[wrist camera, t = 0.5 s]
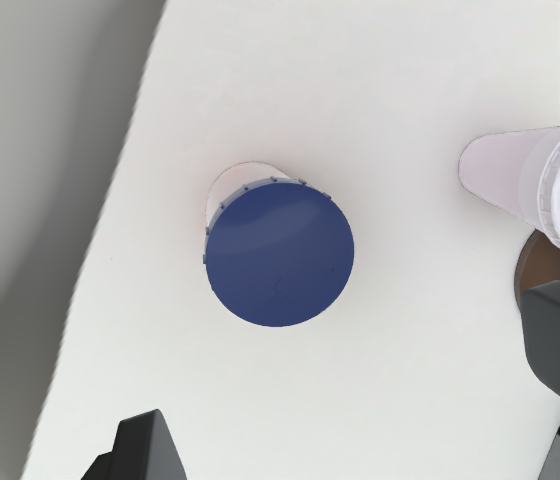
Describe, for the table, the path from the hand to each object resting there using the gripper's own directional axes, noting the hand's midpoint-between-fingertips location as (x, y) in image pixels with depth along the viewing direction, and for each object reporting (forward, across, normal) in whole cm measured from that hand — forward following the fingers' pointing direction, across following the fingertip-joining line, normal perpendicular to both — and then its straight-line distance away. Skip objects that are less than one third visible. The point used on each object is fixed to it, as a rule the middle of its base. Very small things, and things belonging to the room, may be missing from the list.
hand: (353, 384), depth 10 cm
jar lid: (+9, 0, 0) cm, 9 cm away
